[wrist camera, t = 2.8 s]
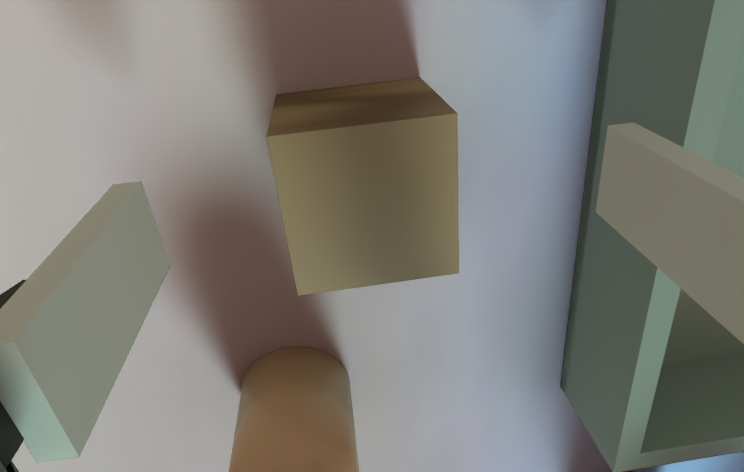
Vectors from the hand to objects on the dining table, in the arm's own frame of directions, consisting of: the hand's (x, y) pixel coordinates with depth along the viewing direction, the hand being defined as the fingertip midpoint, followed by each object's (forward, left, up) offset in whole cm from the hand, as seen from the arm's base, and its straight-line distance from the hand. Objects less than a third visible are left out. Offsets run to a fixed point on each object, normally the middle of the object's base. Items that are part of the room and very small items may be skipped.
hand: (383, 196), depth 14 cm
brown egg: (-4, -11, -5) cm, 13 cm away
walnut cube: (0, 0, -5) cm, 5 cm away
